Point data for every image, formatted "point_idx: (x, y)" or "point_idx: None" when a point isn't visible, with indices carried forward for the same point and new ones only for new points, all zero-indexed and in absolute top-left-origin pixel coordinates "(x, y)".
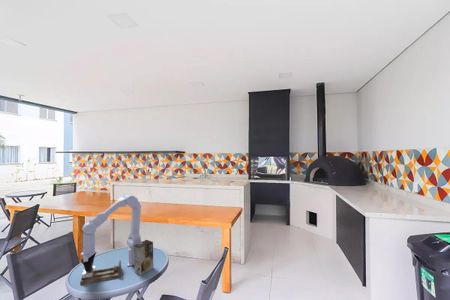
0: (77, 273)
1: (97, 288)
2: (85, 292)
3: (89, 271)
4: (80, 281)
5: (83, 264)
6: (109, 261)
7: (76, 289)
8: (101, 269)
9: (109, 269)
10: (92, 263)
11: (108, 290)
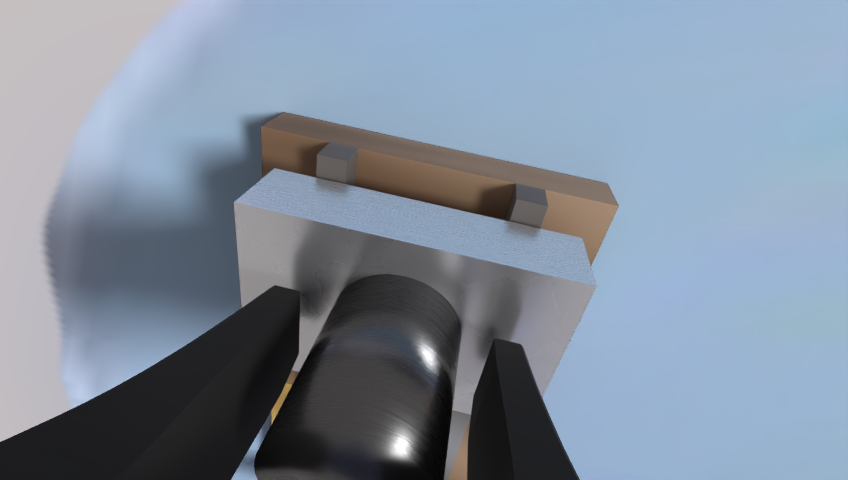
0: (828, 28)
1: (128, 294)
2: (63, 182)
3: (310, 326)
4: (270, 130)
5: (28, 432)
6: (804, 477)
7: (155, 64)
8: (462, 415)
9: None
10: (471, 461)
11: (77, 363)
